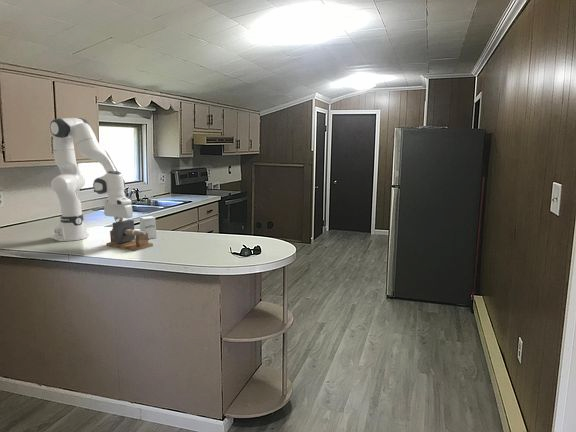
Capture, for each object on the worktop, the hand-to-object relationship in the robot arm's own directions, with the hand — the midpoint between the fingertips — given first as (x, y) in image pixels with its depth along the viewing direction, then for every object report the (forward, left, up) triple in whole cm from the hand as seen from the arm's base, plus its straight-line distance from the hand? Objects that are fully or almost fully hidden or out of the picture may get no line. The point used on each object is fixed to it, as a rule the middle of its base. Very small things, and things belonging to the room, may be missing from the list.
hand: (119, 224), depth 257 cm
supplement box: (+1, +19, -12) cm, 22 cm away
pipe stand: (+7, 0, -11) cm, 14 cm away
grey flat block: (+4, 0, -9) cm, 10 cm away
